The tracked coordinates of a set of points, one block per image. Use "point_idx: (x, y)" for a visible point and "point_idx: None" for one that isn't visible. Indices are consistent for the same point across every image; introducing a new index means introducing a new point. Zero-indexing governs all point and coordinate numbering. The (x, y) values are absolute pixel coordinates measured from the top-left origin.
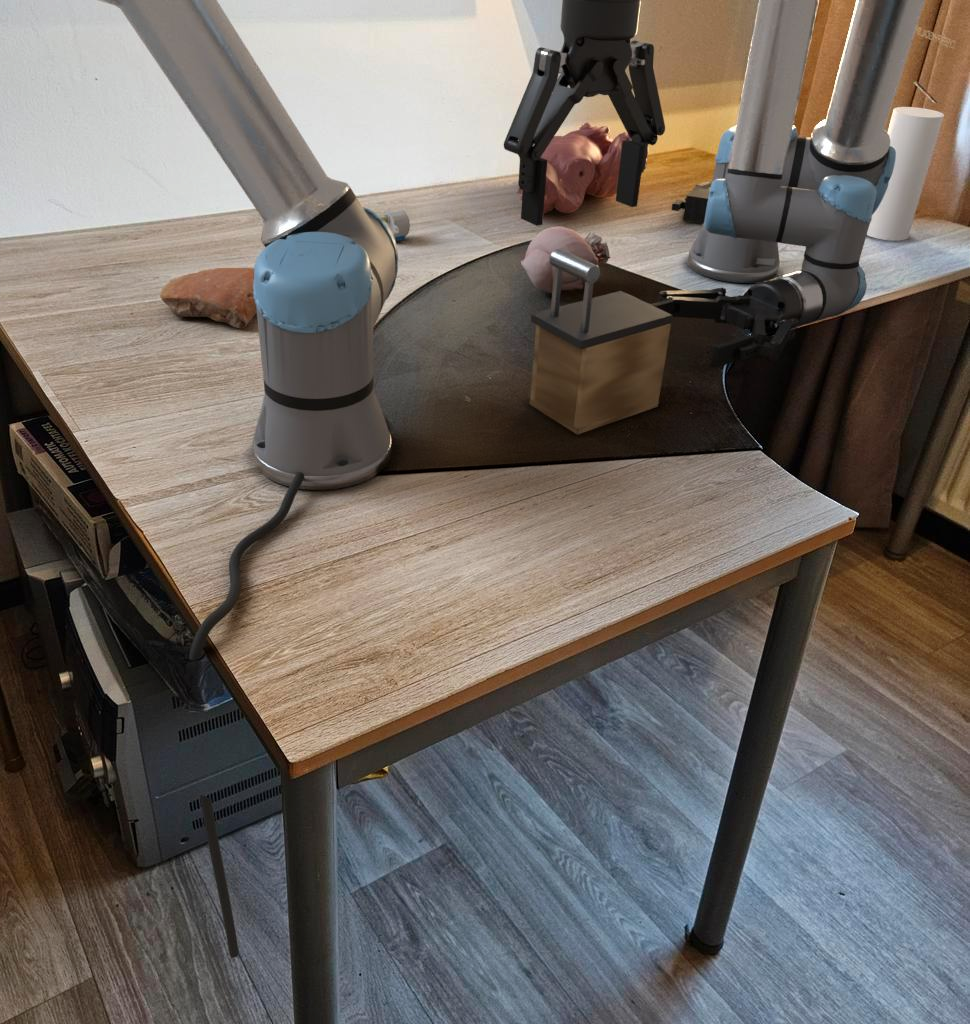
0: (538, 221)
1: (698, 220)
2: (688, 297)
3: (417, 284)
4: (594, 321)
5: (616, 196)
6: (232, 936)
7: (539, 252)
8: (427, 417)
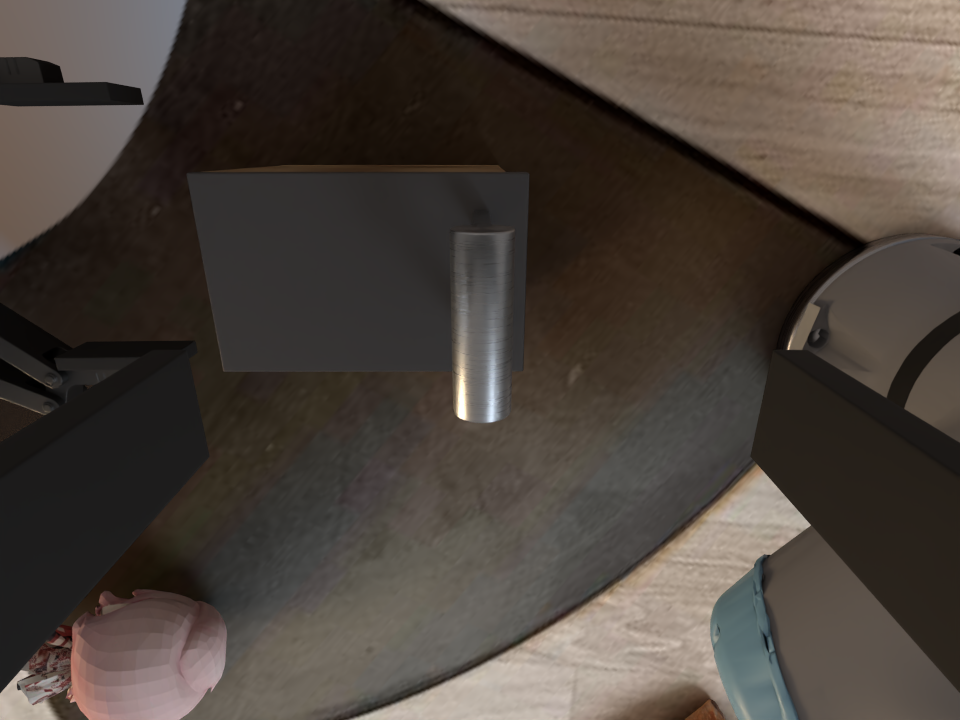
0: (809, 357)
1: None
2: (4, 360)
3: (387, 714)
4: (414, 254)
5: (198, 464)
6: None
7: (193, 677)
8: (672, 356)
